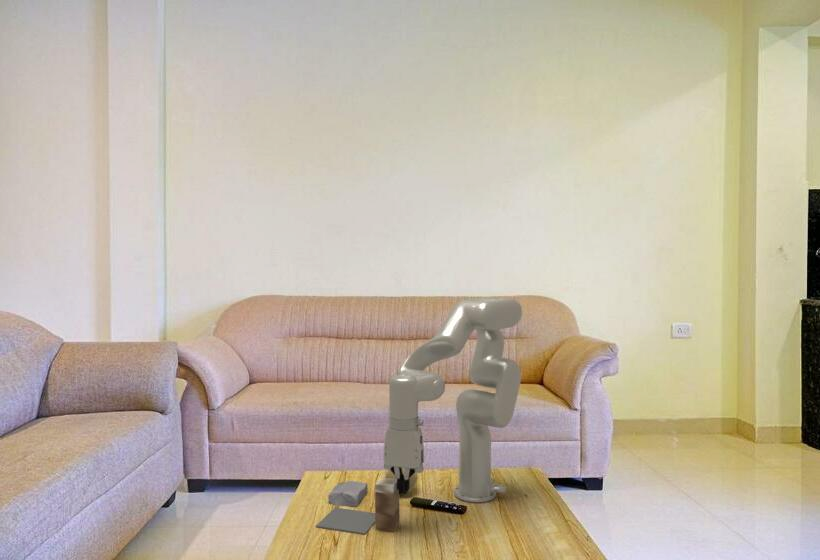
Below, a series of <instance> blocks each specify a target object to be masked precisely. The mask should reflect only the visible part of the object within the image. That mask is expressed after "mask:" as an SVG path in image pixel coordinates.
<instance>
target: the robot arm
mask: <svg viewBox="0 0 820 560" xmlns="http://www.w3.org/2000/svg"><path fill="white" fill-rule="evenodd" d="M522 308H523V307H522V305H521V304H520V302H519V301H518V300H516V299H515V298H509V297H508V298H505V297H493V296H492V297H490V296H489V297H488V296H481V297H476V298H474V299H462V300H458V301H457V302H456V303H455V304H454V305H453V306H452V308H451V310H450V312H449V313H448V315H447V316H446V318H445V319H444V321H443V323H442V324H441V326H440V328H439V330H437V333H436V334H435V335H434V336H433V337H432V338H431V339H429V340H427V341H424V343H422V344H421V345H420V346H418V347H416V348H415V349H414V350H412V352H411V353H410V354H408V356H407V357H406V358H405V360H404V361H403V363H402V364H401V366H400V368H399V370H398V372H397V374H396V375H393V376H392V377H391V378H390V379H389V382H388V383H389V384H388V385H389V386H388V387H389V388H388V389H389V390H388V392H389V395H388V396H389V398H388V399H389V400H388V401H389V402H388V405H389V407H388V411H389V412H388V413H389V414H388V416H389V417H388V419H389V420H388V421H389V422H388V426H387V427H386V431H385V437H384V441H383V442H384V444H383V456H382V457H383V469H385V470H387V471H388V470H390V471H392V473H393V474H394V475H395V477H396V479H397V490H399V496H400V495H402V496H405V495H406V494H407V493H408V492H407V491H409V489H410V477H411V476H412V475H413V474H415V473H417V474H421V473H423V472H424V471H425V470H424V462H425V448H424V447H425V446H424V438H423V437H424V436H423V431H422V428H421V427H420V426H422V427H423V425H424V420H423V419H420V416H419V403H420V402H432V401H436V400H438V399H440V398H441V397H442V396H443V394H444V393H445V390H446V383H445V380H444V379H443V377H442V376H441V375H439V374H438V373H436V372H431V371H427V370H425V369H427V368H428V367H429V366H431V365H432V364H434V363H437V362H440V361H443V360H447V359H449V358H452V357H455V356H457V355H459V354H460V353H461V352H462V351H463V349H464V347H465V345H466V344H467V341H468V340H469V338H470V337H471V335H472V334H473V332H474V331H476V335H477V336H476V337H477V340H476V344H475V349H474V352H473V356H472V361H471V364H470V365H471V366H470V369H469V379H470V382H471V383H473V385H476V386H479V387H483V388H489V389H494V390H495V392H490V391H489V392H488V391H485V390H479V389H472V388H471V389H465V390H463V391H462V392H460V393H459V395H458V397H457V398H456V402H455V408H456V409H455V410H456V415H457V419H458V429H459V430H458V431H459V447H458V448H459V451H458V452H459V455H458V456H459V457H458V459H459V463H458V464H459V465H458V466H459V467H458V469H459V471H458V474H459V475H458V476H459V477H458V483H459V484H458V485H456V486H455V488H454V489H453V490H454V491H453V493H454V496H455V497H456V498H457V499H459V500H461V501H465V502H470V503H487V502H490V501H492V500H494V499H495V498H497V497H496V496H497V493H498V494H502V495H503V494H506V491H507V490H506V489H507V487H506V486H504V485H503V484H502V483H496V482H494V478H493V477H492V435H491V431H490V429H489V427H491V428H492V427H493V428H497V429H502V428H505V427H507V426H509V424H510V423H511V421H512V420H513V415H514V412H515V408H516V404H517V400H518V399H517V398H518V394H519V390H520V386H521V381H522V370H521V367H520V365H519V363H518V362H517V361H515V360H514V359H511V358H508V357H506V358H505V357H503V355H504V350H505V345H506V344H505V339H504V335H503V332H502V330H505V329H509V328H513V327H515V326H516V325H518V324H519V323H520V321H521V320H522V315H523V309H522ZM402 468H405V474H404V475H403V471H402Z"/></svg>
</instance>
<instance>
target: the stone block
mask: <svg viewBox="0 0 820 560" xmlns="http://www.w3.org/2000/svg"><path fill="white" fill-rule="evenodd" d="M368 489H369V488H368V483H367V482H363V481H357V480H348V481H343V482H338V483H337V485H335V486H334V487H333V488H332V490H331V491H330V492H329V493H328V497H327V498H328V502H329V504H330V505H331V504H332V506H337V507H354V506H356V507H358V506H359V505H360V503H361V501H363V499H364V497H366V495H367V493H368ZM358 504H359V505H358Z"/></svg>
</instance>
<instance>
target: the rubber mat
mask: <svg viewBox="0 0 820 560" xmlns="http://www.w3.org/2000/svg"><path fill="white" fill-rule="evenodd" d="M374 524H375V512H370V511H363V510H356V509H348V508H341V507H334V508H333V509H332V510H330V511H329V512H328V513H327V514H326V516H324V517H323V518H322V519H321V520H320V521H319V522H318V523H316V525H315V528H318V529H326V530H332V531H339V532H345V533H352V534H355V535H356V534H357V535H364V536H365V535H367V534H368V532H369V531H370V530H371V528H372V527H373V526H374Z"/></svg>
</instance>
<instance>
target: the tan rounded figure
mask: <svg viewBox="0 0 820 560" xmlns="http://www.w3.org/2000/svg"><path fill="white" fill-rule="evenodd" d="M402 471H403V475H404V474H405V468H402ZM384 478H390V479H396V477H395V475H394V474H393V473H392V471H390V470H387V472H386V474H385V476H384ZM417 482H418V473H415V474H413V475H412V476H411V477H410V489H409V491H407V493H411V492H412V491H413V489H414V487H415V486H416V483H417Z"/></svg>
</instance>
